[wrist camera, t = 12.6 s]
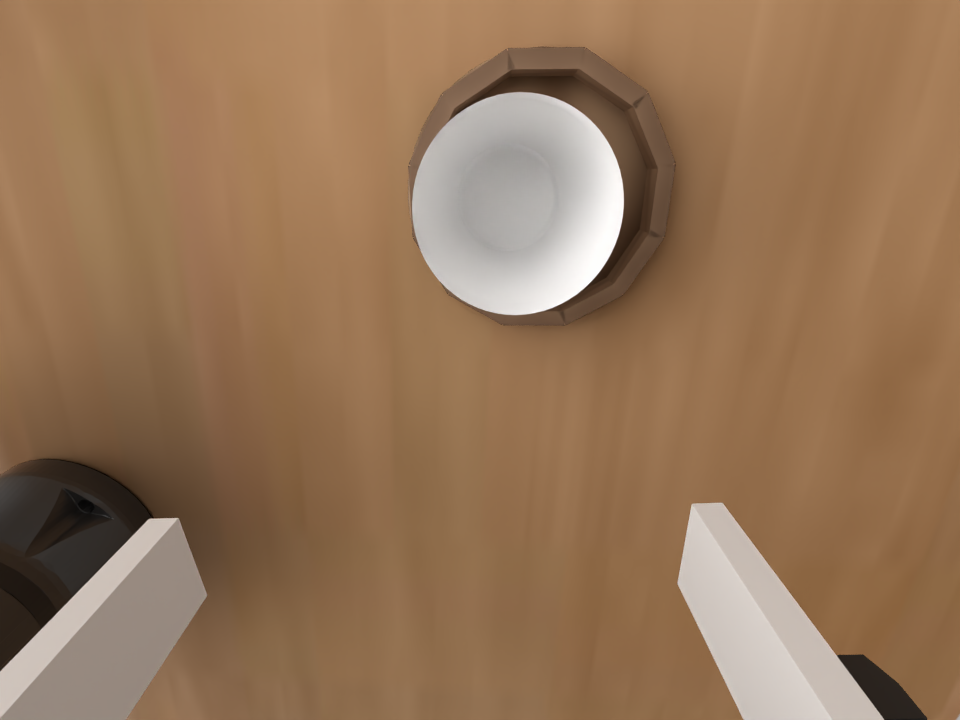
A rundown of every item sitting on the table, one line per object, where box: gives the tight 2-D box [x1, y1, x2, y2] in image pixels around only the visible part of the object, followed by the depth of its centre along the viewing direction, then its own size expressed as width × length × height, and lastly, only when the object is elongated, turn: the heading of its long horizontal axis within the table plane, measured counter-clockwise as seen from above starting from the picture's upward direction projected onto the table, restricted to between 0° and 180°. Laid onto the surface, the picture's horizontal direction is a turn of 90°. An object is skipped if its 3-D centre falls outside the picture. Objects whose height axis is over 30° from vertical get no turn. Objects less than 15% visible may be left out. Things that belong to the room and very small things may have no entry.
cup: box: [412, 92, 624, 315], centre depth 24 cm, size 9×9×12 cm
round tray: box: [408, 47, 676, 326], centre depth 29 cm, size 17×17×3 cm
